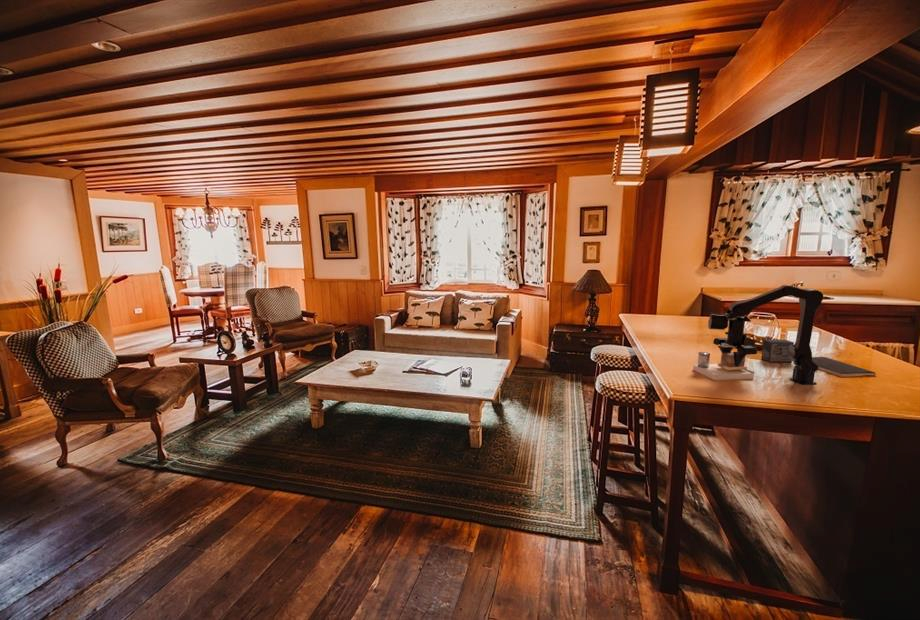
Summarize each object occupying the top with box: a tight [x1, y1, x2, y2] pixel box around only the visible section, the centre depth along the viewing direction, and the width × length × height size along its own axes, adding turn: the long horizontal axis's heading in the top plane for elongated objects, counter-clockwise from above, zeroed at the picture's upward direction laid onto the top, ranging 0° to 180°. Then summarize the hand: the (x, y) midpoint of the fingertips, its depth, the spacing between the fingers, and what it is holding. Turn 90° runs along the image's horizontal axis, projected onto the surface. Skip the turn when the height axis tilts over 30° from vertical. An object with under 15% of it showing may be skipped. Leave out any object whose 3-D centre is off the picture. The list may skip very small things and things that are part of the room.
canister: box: [696, 351, 711, 368], centre depth 178 cm, size 5×5×6 cm
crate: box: [717, 352, 748, 370], centre depth 173 cm, size 6×9×6 cm, turn 94°
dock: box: [692, 363, 755, 381], centre depth 175 cm, size 14×18×3 cm
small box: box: [761, 339, 795, 364], centre depth 191 cm, size 11×6×10 cm, turn 84°
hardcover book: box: [812, 356, 876, 378], centre depth 180 cm, size 16×23×2 cm
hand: (732, 364), depth 173 cm, fingers closed on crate, 5 cm apart
